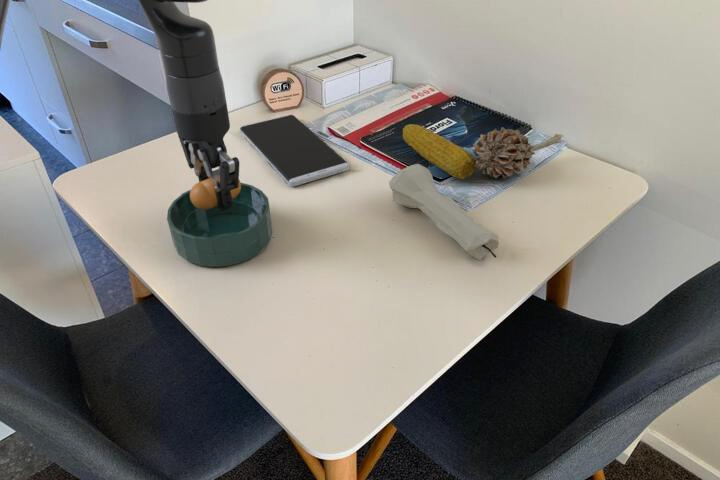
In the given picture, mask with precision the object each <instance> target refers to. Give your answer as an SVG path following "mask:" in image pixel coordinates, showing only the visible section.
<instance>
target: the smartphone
mask: <svg viewBox="0 0 720 480" xmlns="http://www.w3.org/2000/svg"><path fill="white" fill-rule="evenodd" d="M239 132H240V133H241V135H243V137H245V139H246V140H247V141H248V142H249V143H250V144H251V145H252V146H253V147H254V148H255V150H256V151H257V152H258V153H259V154H260V155H261V156H262V157H263V158H264V159H265V161H266V162H267V163H268V164H269V165H270V166H271V167H272V168H273V170H275V171H276V172H277V173H278V175H279V176H280V177H281V178H282V179H283V180H284V181H285V182H286V183H287V185H288V186H290V187H297V186H301V185H304V184H308V183H310V182H314V181H317V180H320V179H324V178H327V177H331V176H333V175H337V174H340V173H343V172H347V171H349V170H350V163H349V162H348V161H347V160H346V159H344V158H343V157H342V156H341V155H340V154H338V153H337V152H336V151H335V150H334V149H333V148H332V147H331V146H329V144H327V143H326V142H325V141H323V139H322V138H320V136H318V135H317V134H316V133H315V132H313V130H311V129H310V128H309V127H308V126H306V124H304V123H303V121H301V120H299V119H298V118H297V117H296V116H295V115H294V114H292V113H291V114H286V115H281V116H276V117H272V118H268V119H264V120H259V121H256V122H252V123H248V124H247V123H246V124H243V125H240V127H239Z"/></svg>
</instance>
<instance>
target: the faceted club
mask: <svg viewBox="0 0 720 480" xmlns="http://www.w3.org/2000/svg"><path fill="white" fill-rule="evenodd" d="M388 186H389V188H390V189H391V191H392V202H395V203H397V204H399V205H402V206H404V207H406V208H409V209H420V210H421V211H422V212H423V213H424V214H425V215H426V216H427V217H429V218H430V219H431V220H432V221H433V222H435V225H436V227H437V229H439V230H440V231H442V232H443V233H445V234H446V235H448V236H449V237H451V238H453V240H455V241H456V242H457V243H458V244H459V245H460V246H461V248H462V249H463V250H464V251H465V252H466V253H467V254H469V255H470V256H471V257H472V258H473V259H475V260H476V261H481V260H482V259H483V258H484V257H485V255H487V254H489V253H490V254H491V256H493V258H494V259H496V258H497V255H496V254H495V253H494V252H493V251H494V250H497V249H499V243H500V239H499V235H498V234H496V233H494V232H492V231H491V230H490V229H488V228H486V227H485V226H484V225H481V224H480V223H478V222H477V221H476V220H474V219H473V218H472V217H471V216H470V215H468V213H466V212H465V210H463V208H461V207H460V206H459V205H458V204H457V203H456V201H454V200H453V199H452V197H451V196H448V195H445V194H442V193H441V192H440V191H438V189H437V187H436V185H435V182H434V178H433V174H432V173H431V171H430V169H429V168H427V167H425V166H424V165H422V164H420V163H415V164H411V165H409V166H406V167H405V168H403V169H400V170H399V171H398V172H397V173H395V175H393V176H392V177H391V179H390V180H389V181H388Z"/></svg>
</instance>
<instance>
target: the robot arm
mask: <svg viewBox="0 0 720 480" xmlns="http://www.w3.org/2000/svg"><path fill="white" fill-rule="evenodd" d="M207 1H208V0H137V2H138V4H139V5H140V7H141V9H142V11H143V13H144V15H145V17H146V19H147V21H148V24H149V26H150V27H151V29H152V31H153V33H154V35H155V37H156V40H157V42H158V47H159V50H160V56H161V60H162V63H163V64H162V65H163V69H164V73H165V74H164V75H165V84H166V91H167V96H168V99H169V104H170V110H171V114H172V118H173V121H174V126H175V130H176V133H177V137H178V140H179V142H180V146H181V148H182V151H183V153H184V154H183V155H184V156H185V159H186V162H187V165H188V167H189V169H193V171H194V172H193V173H194V174H195V176H196V177H197V179H198V182H201V181H203V180H206V179H208V178H211V179H212V182H213V184H214V187H215V193H216V198H217V203H218V208H219V209H220V210H222V211H224V210H226V209H228V208H230V207H232V205H233V202H232V196H231V190H233V189H236V188H238V185H239V180H240V160H239V158H238V157H237V156H234V157H230V155H229V154H228V149H227V147H226V144H225V141H224V138H225V136H226V134H227V133H228V132H229V130H230V129H231V122H230V117H229V109H228V104H227V103H228V102H227V97H226V91H225V86H224V80H223V76H222V73H221V69H220V65H219V60H218V53H217V47H216V40H215V35H214V34H215V33H214V31H213V29H212V26H211V25H210V24H209V23H208V22H206V21H205V20H202V19H199V18H198V17H197V18H196V17H193V16H190V15H187V14H185V13H184V12H182V11H181V10H180V9H179V7H178V6H177V5H176V3H187V4H188V3H189V4H199V3H200V4H201V3H205V2H207ZM10 2H11V0H0V50H1V49H2V43H3V37H4V31H5V26H6V21H7V16H8V11H9V6H10ZM216 168H217V169H216ZM213 169H214V170H213ZM218 176H220V183H219V181H218Z"/></svg>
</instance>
